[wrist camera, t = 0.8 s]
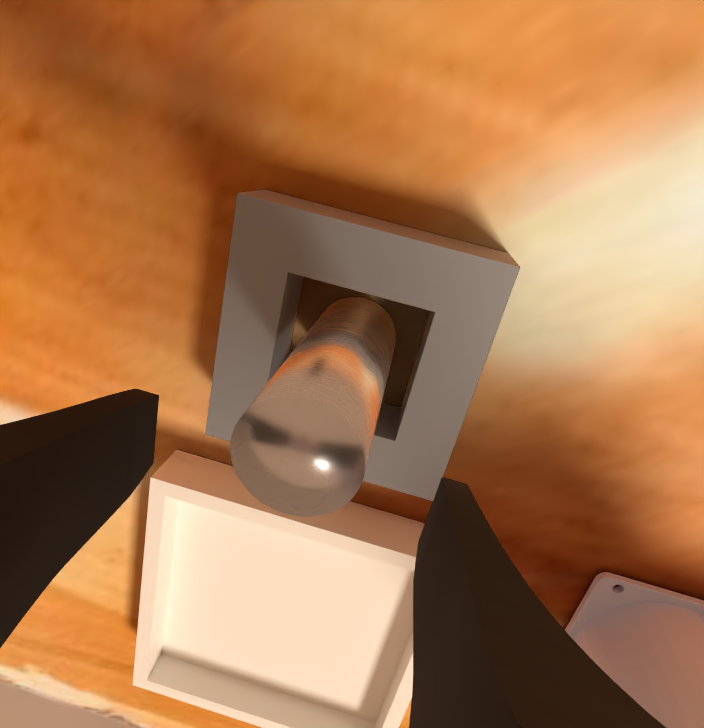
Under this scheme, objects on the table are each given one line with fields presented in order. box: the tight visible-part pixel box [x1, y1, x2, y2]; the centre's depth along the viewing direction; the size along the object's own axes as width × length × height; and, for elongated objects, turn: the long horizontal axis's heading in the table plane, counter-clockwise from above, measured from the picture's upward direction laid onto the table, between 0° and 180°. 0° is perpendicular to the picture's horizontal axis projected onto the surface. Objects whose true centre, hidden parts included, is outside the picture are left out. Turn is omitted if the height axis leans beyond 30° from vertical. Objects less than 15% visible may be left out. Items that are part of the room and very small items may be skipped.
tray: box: [133, 449, 425, 728], centre depth 27 cm, size 15×15×2 cm
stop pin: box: [230, 297, 396, 517], centre depth 17 cm, size 4×4×10 cm
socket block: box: [205, 189, 520, 501], centre depth 20 cm, size 10×10×3 cm
